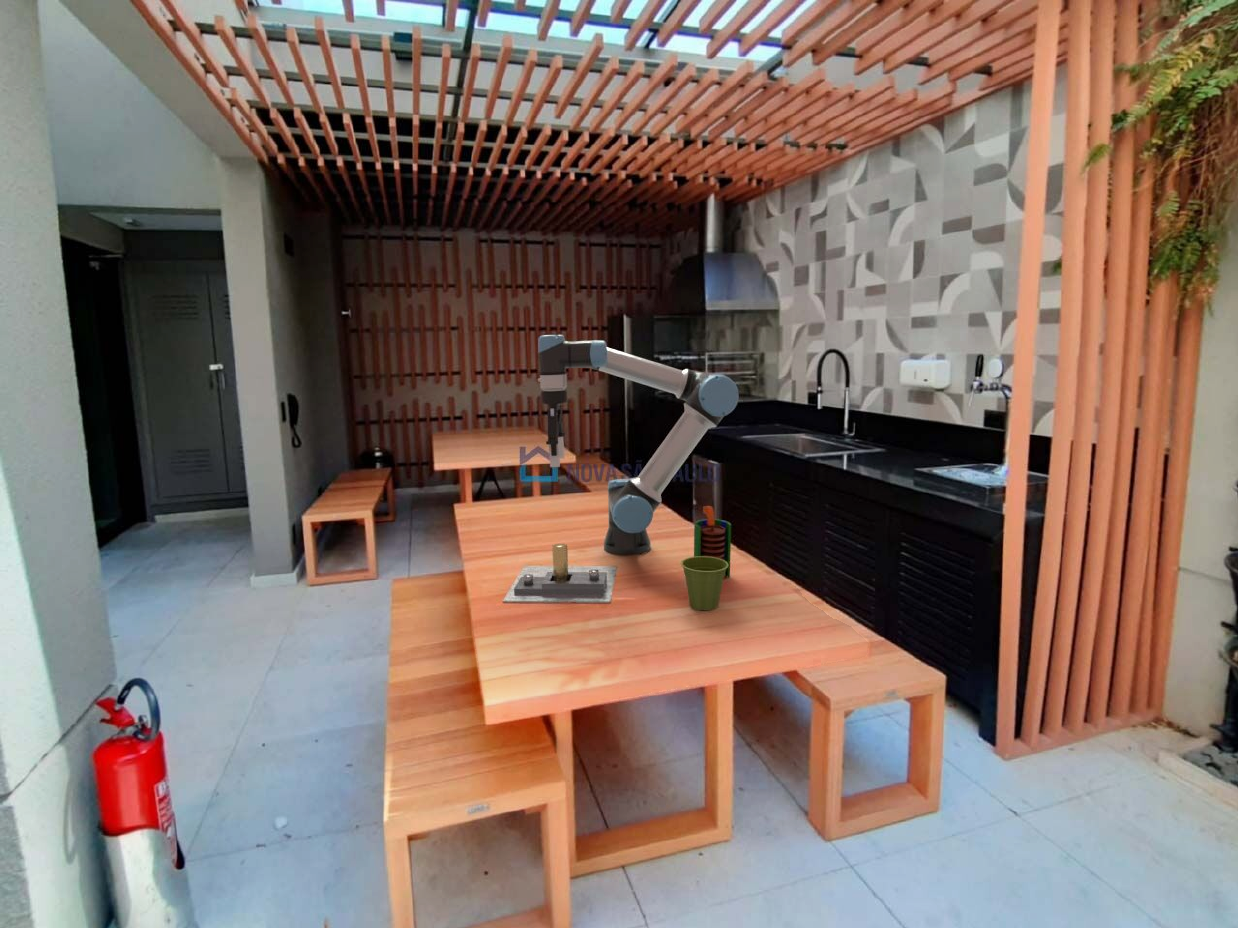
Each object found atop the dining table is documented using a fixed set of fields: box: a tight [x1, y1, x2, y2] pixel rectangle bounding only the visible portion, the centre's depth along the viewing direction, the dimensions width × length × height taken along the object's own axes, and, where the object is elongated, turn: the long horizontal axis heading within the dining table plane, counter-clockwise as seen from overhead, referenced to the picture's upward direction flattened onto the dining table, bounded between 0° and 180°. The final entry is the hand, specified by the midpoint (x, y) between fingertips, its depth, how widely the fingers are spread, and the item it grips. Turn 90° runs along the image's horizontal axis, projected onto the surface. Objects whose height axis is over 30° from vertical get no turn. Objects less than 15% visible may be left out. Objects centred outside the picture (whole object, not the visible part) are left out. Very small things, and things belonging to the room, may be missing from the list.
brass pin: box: [551, 543, 569, 581], centre depth 178 cm, size 4×4×12 cm
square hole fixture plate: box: [502, 565, 618, 604], centre depth 183 cm, size 28×27×6 cm
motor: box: [693, 505, 732, 581], centre depth 186 cm, size 10×9×20 cm
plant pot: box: [680, 556, 729, 611], centre depth 166 cm, size 12×12×11 cm
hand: (557, 462), depth 193 cm, fingers open, 13 cm apart
